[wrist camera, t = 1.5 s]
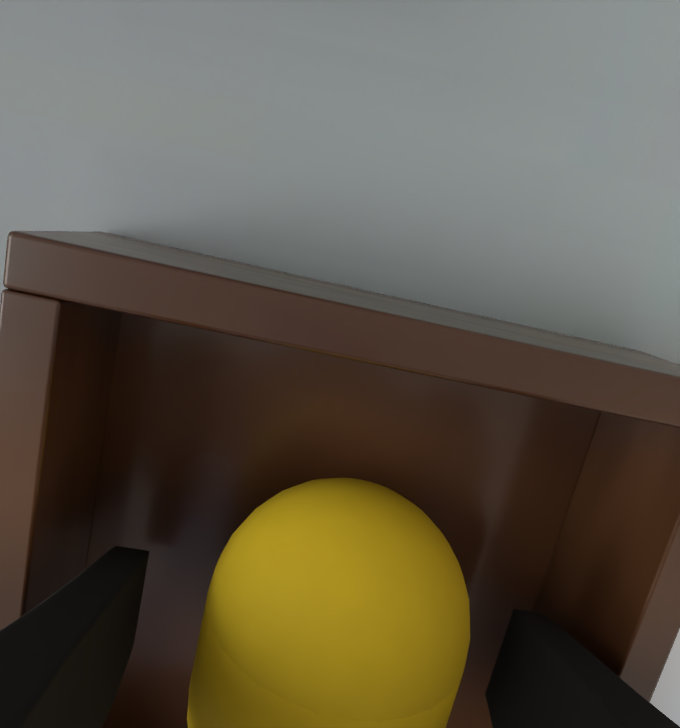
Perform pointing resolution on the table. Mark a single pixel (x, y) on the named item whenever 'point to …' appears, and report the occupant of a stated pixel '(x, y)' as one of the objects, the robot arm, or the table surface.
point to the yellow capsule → (332, 616)
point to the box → (323, 448)
